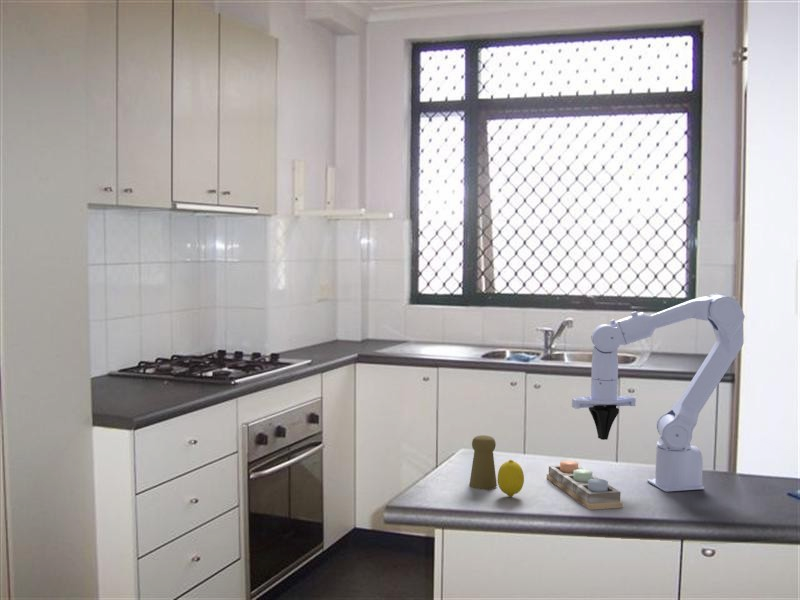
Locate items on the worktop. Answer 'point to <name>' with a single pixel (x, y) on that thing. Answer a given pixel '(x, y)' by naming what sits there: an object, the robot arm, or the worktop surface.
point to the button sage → (582, 475)
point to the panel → (584, 490)
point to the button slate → (597, 485)
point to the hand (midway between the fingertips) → (602, 438)
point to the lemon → (510, 478)
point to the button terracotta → (568, 466)
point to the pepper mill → (483, 463)
